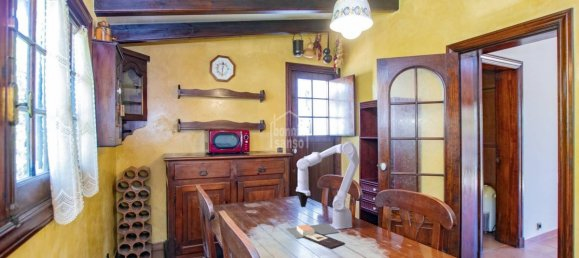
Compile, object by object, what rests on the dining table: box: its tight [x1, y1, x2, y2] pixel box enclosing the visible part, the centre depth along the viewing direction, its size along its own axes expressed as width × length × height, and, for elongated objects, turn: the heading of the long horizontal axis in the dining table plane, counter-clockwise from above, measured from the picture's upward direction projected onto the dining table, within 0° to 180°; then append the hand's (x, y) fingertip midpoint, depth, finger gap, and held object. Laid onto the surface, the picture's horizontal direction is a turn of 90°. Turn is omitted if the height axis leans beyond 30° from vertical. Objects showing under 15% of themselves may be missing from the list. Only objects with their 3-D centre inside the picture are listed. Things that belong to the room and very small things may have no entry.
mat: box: [286, 223, 339, 240], centre depth 150 cm, size 22×14×1 cm, turn 110°
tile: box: [296, 224, 315, 235], centre depth 147 cm, size 6×2×8 cm
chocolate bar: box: [302, 232, 346, 250], centre depth 137 cm, size 9×1×18 cm
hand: (303, 206), depth 160 cm, fingers closed
